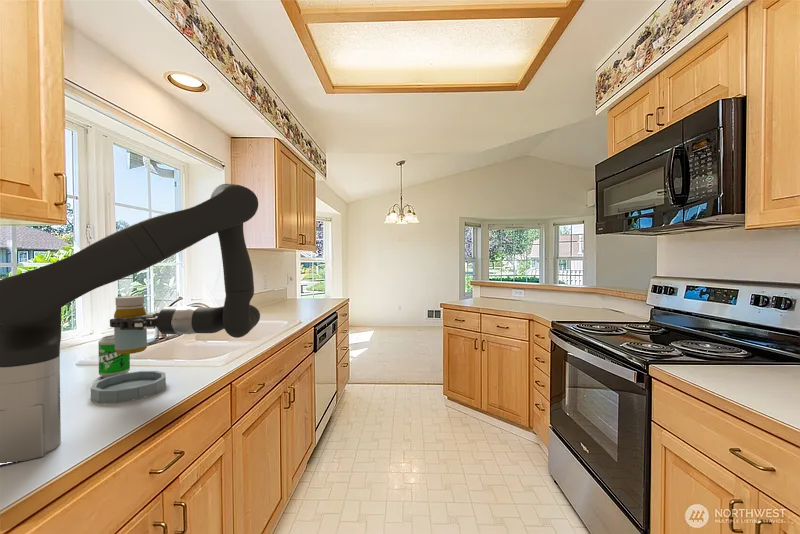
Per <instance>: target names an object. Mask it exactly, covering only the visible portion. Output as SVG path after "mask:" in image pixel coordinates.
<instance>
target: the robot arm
mask: <svg viewBox="0 0 800 534" xmlns="http://www.w3.org/2000/svg"><path fill="white" fill-rule="evenodd" d="M258 209H259V199H258V197H257V195H256V194H255V192H254V191H253V190H251V189H249V188H248V187H245V186H244V185H240V184H233V183H222V184H219V185H218V186H217V185H216V187H215V188H214V189H213V190H212V191H211V194H210V196H209V199H207V200H205V201H202V202H201V203H198V204H196V205H193V206H192V207H191V206H190V207H189V208H184V209H181V210H175V211H172V212H167V213H164V214H163V213H162V214H160V215H156V216H153V217H149V218H146V219H143V220H140V221H138V222H136V223H134V224H131V225H129V226H126V227H124V228H121V229H119V230H117V231H115V232H113V233H111V234H108V235H106V236H104V237H103V238H101V239H99V240H96V241H95V242H93V243H91V244H89V245H88V246H86V247H84V248H83V249H81V250H79V251H77V252H76V253H73V254H71V255H69V256H67V257H65V258H63V259H59V260H57V261H54V262H51V263H49V264H46V265H43V266H40V267H37V268H33V269H31V270H28V271H25V272H22V273H19V274H15V275H10V276H7V277H4V278H1V279H0V463H7V462H16V461H20V462H24V461H28V460H34V459H39V458H41V457H42V458H43V457H44V456H45V454H47V453H48V452H50V451H53V450H54V449H56V448H57V447H58V446H60V444H61V442H62V438H61V437H62V433H61V431H62V430H61V429H62V428H61V427H62V426H61V424H62V423H61V421H62V419H61V350H60V349H61V341H62V340H61V339H62V308H63V307H65V306H66V305H68V304H70V303H71V302H73V301H74V300H77V299H78V298H80V297H82V296H84V295H86V294H87V293H89V292H91V291H94V290H96V289H98V288H101V287H103V286H106V285H109V284H111V283H114V282H117V281H118V280H119V281H120V280H121V279H125V278H127V277H129V276H133V275H135V274H137V273H139V272H142V271H145V270H146V269H148V268H149V269H150V268H151V267H153V266H154V265H156V264H159V263H161V262H163V261H165V260H166V259H168V258H171V257H172V256H174V255H176V254H178V253H180V252H182V251H184V250H185V249H187V248H189V247H192V246H194V245H195V244H197V243H199V242H200V241H202V240H204V239H206V238H208V237H210V236H212V235H215V234H217V235H218V241H219V246H220V253H221V260H222V269H223V271H222V272H223V281H224V283H223V284H224V292H225V298H224V303H223V306H217V307H210V306H209V307H208V306H207V307H202V306H201V307H198V306H189V305H188V306H165V307H163V308H162V309H161V310H159V311H154V312H153V311H152V312H148V313H146V315H140V316H135V317H134V318H125V319H114V318H111V319H109V327H110V328H114V327H120V330H143V329H145V328H147V330H153V329H156V328H157V330H158V331H159V332H160V333H161V334H162V335H193V334H194V335H196V334H215V333H218V332H221V331H223V330H224V331H225V332H226V334H228V336H230V337H233V338H236V339H238V338H243V337H245V336H247V335H248V334H249V333H251V331H252V330H253V329H254V328H255V327H256V325H257V324H258V323H259V322H260V319H261V312H260V311H259V309H258V308H257V307H256V306H254V305H252V304H250V303H251V300H252V299H253V297H254V295H255V286H254V284H255V282H254V272H253V266H252V261H251V259H250V254H249V251H248V248H247V245H246V241H245V233H244V223H246V222H249V221H250V220H251V219H252V218H253V217H254V216H256V213H257V211H258ZM139 318H141V319H139ZM138 319H139V320H138ZM16 463H17V462H16Z"/></svg>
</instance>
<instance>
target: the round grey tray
mask: <svg viewBox="0 0 800 534" xmlns="http://www.w3.org/2000/svg"><path fill="white" fill-rule="evenodd" d="M166 376H167V375H166V372H163V371H159V370H139V371H138V370H137V371H129V372H127V373H123V374H119V375H115V376H111V377H107V378H102V379H100V380H98V381H97V380H96V381H95V382H93V383H92V385H91V387H90V400H91V401H93V402H96V403H99V404H110V403H111V404H113V403H114V404H115V403H116V404H117V403H124V402H129V401H135V400H139V399H143V398H146V397H149V396H153V395H155V394H158V393H159V392H161V391H162V390H164V389H166V386H167V385H166V384H167V383H166V382H167V380H166V378H167V377H166Z"/></svg>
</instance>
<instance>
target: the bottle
mask: <svg viewBox="0 0 800 534" xmlns="http://www.w3.org/2000/svg"><path fill="white" fill-rule="evenodd" d="M146 314H147V312H146V310H145V297H144V295H124V296H117V297H115V311H114V314H113V319H125V318H134V317H135V316H140V315H146ZM139 319H141V318H139ZM139 319H138V320H139ZM147 331H148V328H145V329H143V330H120V327H113V332H114V333H113V335H114V340H115V352H116V353H117V354H130V355H131V354H138V353H141V352H145V350H146V349H147V348H148V333H147Z"/></svg>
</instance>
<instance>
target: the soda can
mask: <svg viewBox="0 0 800 534" xmlns="http://www.w3.org/2000/svg"><path fill="white" fill-rule="evenodd" d="M97 344H98V375H99V376H100V377H102V379H104V378H107V377H111V376H115V375H119V374H123V373H129V372H130V370H131V366H130V365H131V363H130V362H131V361H130V360H131V359H130V358H131V354H117V353H116V352H115V340H114V334H112V335H105V336H103V337H101V339H100V340H99V341H98V343H97Z"/></svg>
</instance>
